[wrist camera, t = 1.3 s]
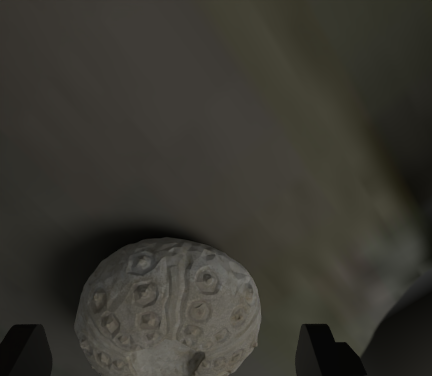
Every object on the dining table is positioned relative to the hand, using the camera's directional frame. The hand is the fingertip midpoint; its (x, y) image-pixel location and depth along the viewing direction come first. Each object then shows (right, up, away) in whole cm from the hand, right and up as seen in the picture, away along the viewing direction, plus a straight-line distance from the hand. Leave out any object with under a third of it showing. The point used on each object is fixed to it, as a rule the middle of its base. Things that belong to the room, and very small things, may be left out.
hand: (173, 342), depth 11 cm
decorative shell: (-3, -6, +27) cm, 28 cm away
